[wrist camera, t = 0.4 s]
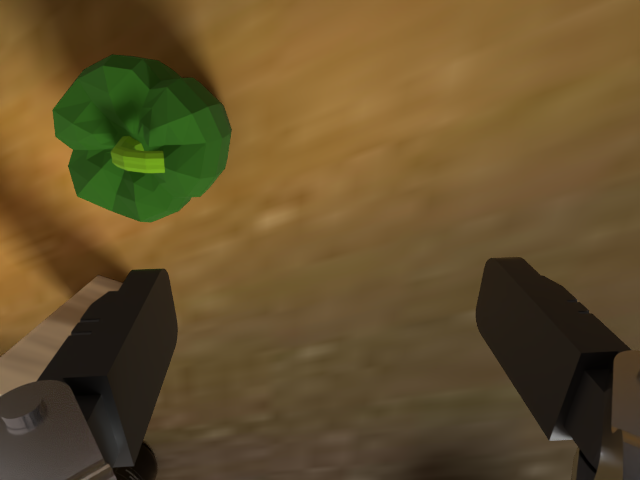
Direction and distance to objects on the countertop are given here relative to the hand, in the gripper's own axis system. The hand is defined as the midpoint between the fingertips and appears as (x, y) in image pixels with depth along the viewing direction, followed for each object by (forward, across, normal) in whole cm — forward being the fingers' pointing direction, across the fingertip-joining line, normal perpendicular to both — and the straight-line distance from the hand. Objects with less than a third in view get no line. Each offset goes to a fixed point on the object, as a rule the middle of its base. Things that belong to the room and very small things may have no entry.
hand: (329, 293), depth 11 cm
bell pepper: (+20, +8, 0) cm, 21 cm away
